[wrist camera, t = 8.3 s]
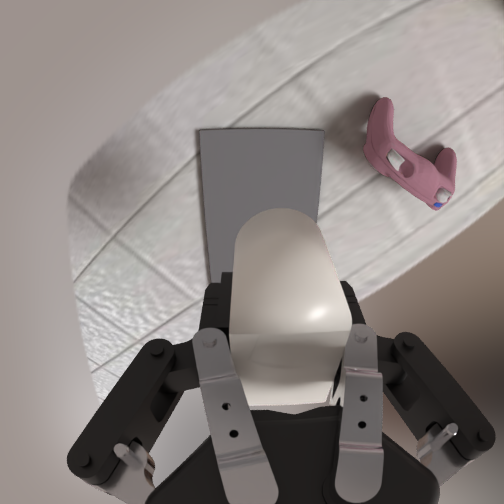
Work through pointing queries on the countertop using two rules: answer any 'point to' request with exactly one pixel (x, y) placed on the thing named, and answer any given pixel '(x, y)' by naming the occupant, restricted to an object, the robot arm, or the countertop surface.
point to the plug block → (286, 310)
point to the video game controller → (408, 160)
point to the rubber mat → (255, 181)
